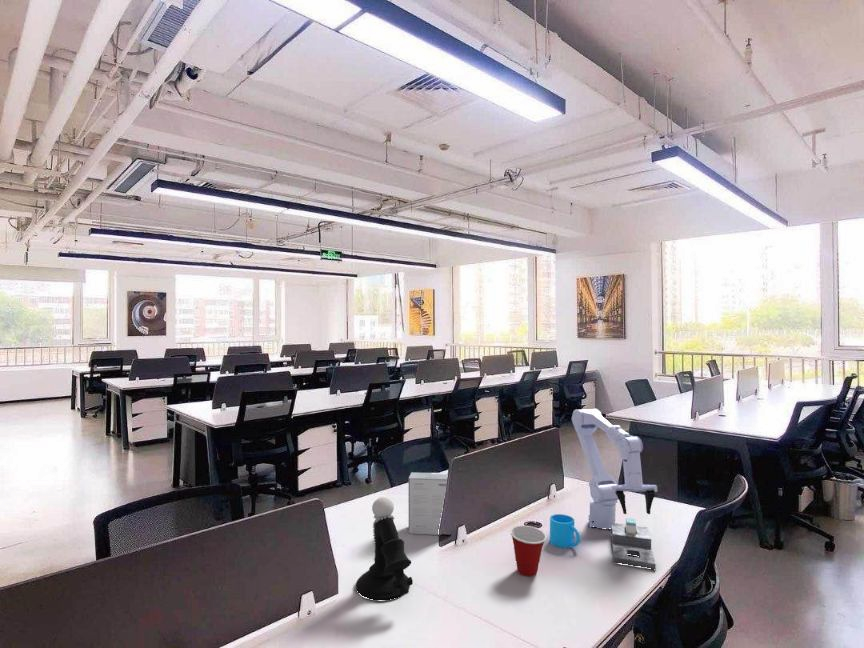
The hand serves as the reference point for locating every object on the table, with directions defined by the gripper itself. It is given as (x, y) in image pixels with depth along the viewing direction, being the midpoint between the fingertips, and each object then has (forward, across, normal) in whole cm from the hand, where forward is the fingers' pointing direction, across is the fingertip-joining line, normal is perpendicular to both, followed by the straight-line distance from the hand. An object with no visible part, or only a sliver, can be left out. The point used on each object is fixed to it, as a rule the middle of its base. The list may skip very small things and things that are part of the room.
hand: (636, 513), depth 169 cm
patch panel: (+11, -4, -4) cm, 12 cm away
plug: (+8, -2, +1) cm, 9 cm away
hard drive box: (+6, -72, -2) cm, 72 cm away
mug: (+10, -24, -3) cm, 27 cm away
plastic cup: (+12, -38, -24) cm, 46 cm away
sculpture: (+11, -76, -44) cm, 89 cm away
